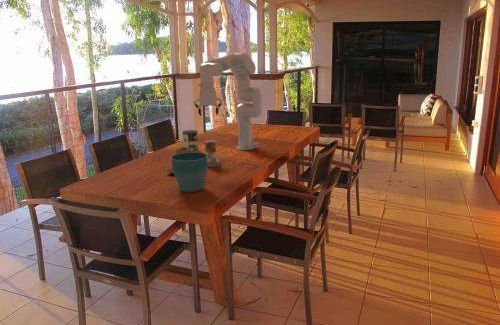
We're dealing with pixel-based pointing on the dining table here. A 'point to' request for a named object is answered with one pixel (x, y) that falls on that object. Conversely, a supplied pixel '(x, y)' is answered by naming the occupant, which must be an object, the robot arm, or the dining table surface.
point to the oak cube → (211, 156)
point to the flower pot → (190, 170)
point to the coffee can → (190, 139)
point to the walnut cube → (210, 146)
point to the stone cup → (178, 150)
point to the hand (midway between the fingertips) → (208, 115)
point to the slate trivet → (213, 163)
